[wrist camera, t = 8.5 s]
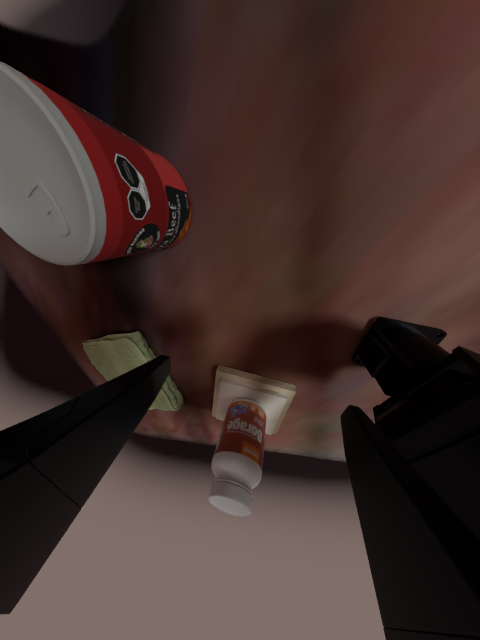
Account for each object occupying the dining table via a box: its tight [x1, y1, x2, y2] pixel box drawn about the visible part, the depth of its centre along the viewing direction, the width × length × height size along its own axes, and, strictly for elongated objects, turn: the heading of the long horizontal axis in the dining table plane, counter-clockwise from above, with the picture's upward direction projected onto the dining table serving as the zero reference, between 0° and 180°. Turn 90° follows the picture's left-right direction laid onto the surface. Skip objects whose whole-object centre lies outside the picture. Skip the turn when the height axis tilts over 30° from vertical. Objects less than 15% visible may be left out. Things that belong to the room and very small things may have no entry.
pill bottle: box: [209, 398, 267, 517], centre depth 23 cm, size 6×6×11 cm
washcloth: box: [82, 331, 183, 411], centre depth 31 cm, size 13×18×3 cm
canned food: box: [0, 62, 192, 265], centre depth 13 cm, size 8×8×11 cm
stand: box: [212, 365, 296, 435], centre depth 28 cm, size 12×12×2 cm
